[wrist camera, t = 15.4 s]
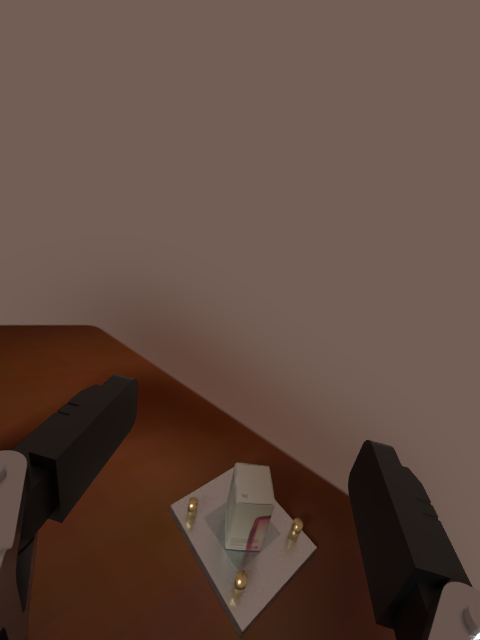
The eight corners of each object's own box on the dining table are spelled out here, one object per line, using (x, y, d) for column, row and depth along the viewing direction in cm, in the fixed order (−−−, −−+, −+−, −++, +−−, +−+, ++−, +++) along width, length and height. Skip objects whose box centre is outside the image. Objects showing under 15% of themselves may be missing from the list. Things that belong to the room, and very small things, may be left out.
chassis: (169, 511, 36) (172, 491, 34) (240, 467, 43) (244, 450, 42) (240, 637, 26) (247, 617, 25) (314, 553, 34) (322, 534, 33)
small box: (261, 552, 32) (276, 506, 29) (224, 550, 32) (235, 503, 29) (257, 508, 37) (270, 464, 34) (224, 505, 36) (235, 461, 33)
